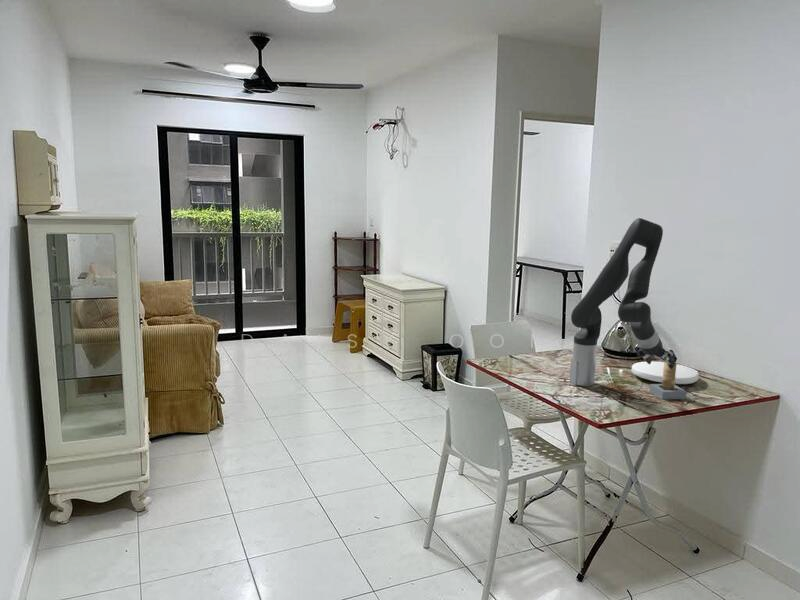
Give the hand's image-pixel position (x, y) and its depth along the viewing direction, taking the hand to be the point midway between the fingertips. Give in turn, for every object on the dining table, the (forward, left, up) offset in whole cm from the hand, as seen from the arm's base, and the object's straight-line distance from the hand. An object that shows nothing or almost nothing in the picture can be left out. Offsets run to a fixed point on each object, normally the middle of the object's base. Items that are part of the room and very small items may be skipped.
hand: (660, 364), depth 221 cm
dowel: (+6, +5, -14) cm, 16 cm away
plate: (+17, +26, -14) cm, 34 cm away
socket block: (+6, +5, -14) cm, 16 cm away
